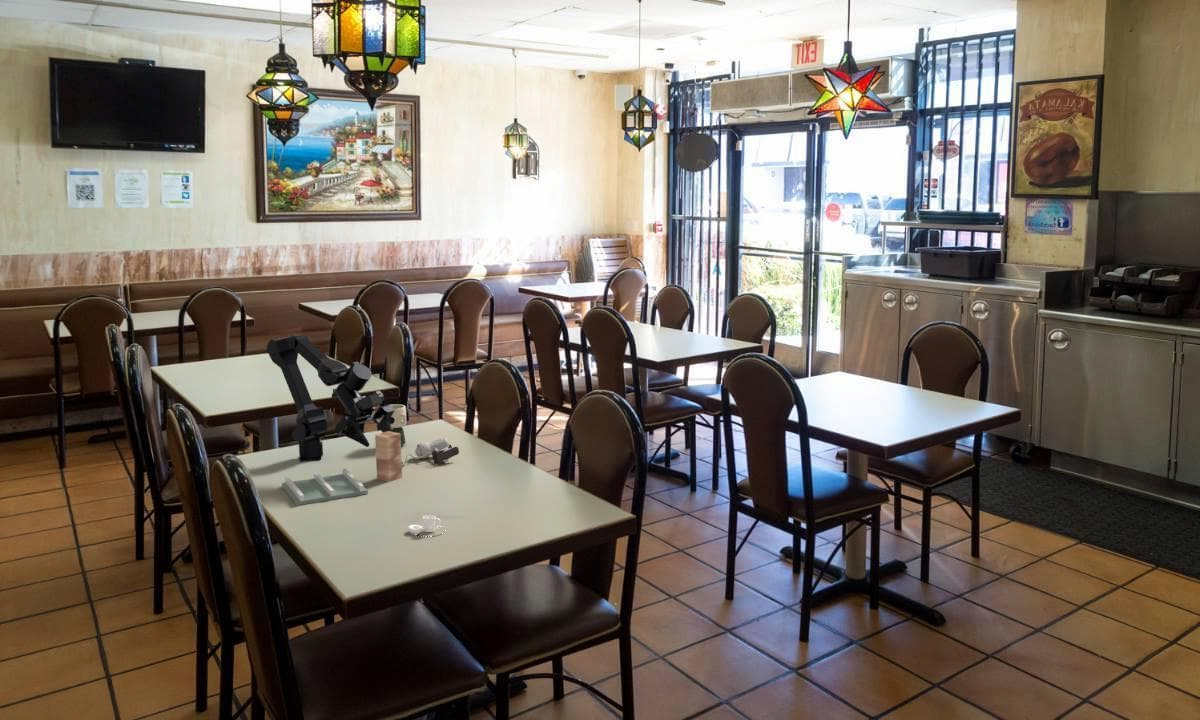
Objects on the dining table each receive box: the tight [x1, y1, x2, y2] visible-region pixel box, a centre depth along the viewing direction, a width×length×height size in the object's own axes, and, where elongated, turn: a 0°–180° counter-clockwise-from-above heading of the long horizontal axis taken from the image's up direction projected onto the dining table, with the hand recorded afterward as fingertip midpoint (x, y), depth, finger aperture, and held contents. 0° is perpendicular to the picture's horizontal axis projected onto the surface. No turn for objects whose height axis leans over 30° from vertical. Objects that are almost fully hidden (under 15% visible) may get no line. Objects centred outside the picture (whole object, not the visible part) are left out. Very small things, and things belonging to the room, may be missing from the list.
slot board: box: [281, 468, 369, 506], centre depth 262 cm, size 18×19×2 cm
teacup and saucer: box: [407, 514, 447, 538], centre depth 231 cm, size 9×8×4 cm
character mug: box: [390, 403, 407, 446], centre depth 305 cm, size 11×7×13 cm, turn 51°
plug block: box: [374, 431, 403, 483], centre depth 272 cm, size 5×5×13 cm
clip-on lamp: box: [402, 437, 460, 466], centre depth 289 cm, size 12×6×18 cm
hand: (380, 442), depth 273 cm, fingers open, 9 cm apart
